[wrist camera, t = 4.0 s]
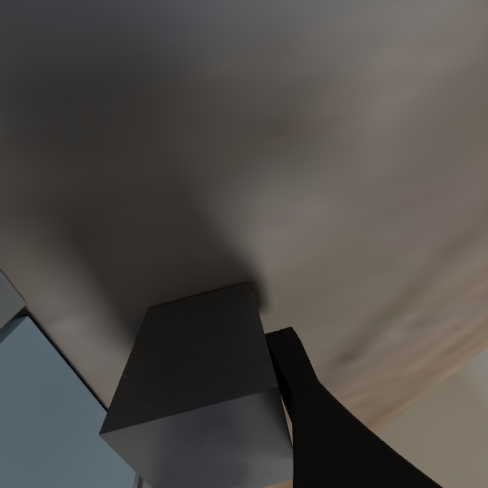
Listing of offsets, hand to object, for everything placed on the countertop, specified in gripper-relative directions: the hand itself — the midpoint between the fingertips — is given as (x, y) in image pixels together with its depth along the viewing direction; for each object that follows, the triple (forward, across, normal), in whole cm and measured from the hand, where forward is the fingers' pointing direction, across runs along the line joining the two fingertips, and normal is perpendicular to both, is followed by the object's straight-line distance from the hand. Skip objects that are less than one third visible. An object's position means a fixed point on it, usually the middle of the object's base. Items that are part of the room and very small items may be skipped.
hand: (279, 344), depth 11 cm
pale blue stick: (+1, +10, +2) cm, 11 cm away
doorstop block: (+2, +3, 0) cm, 3 cm away
